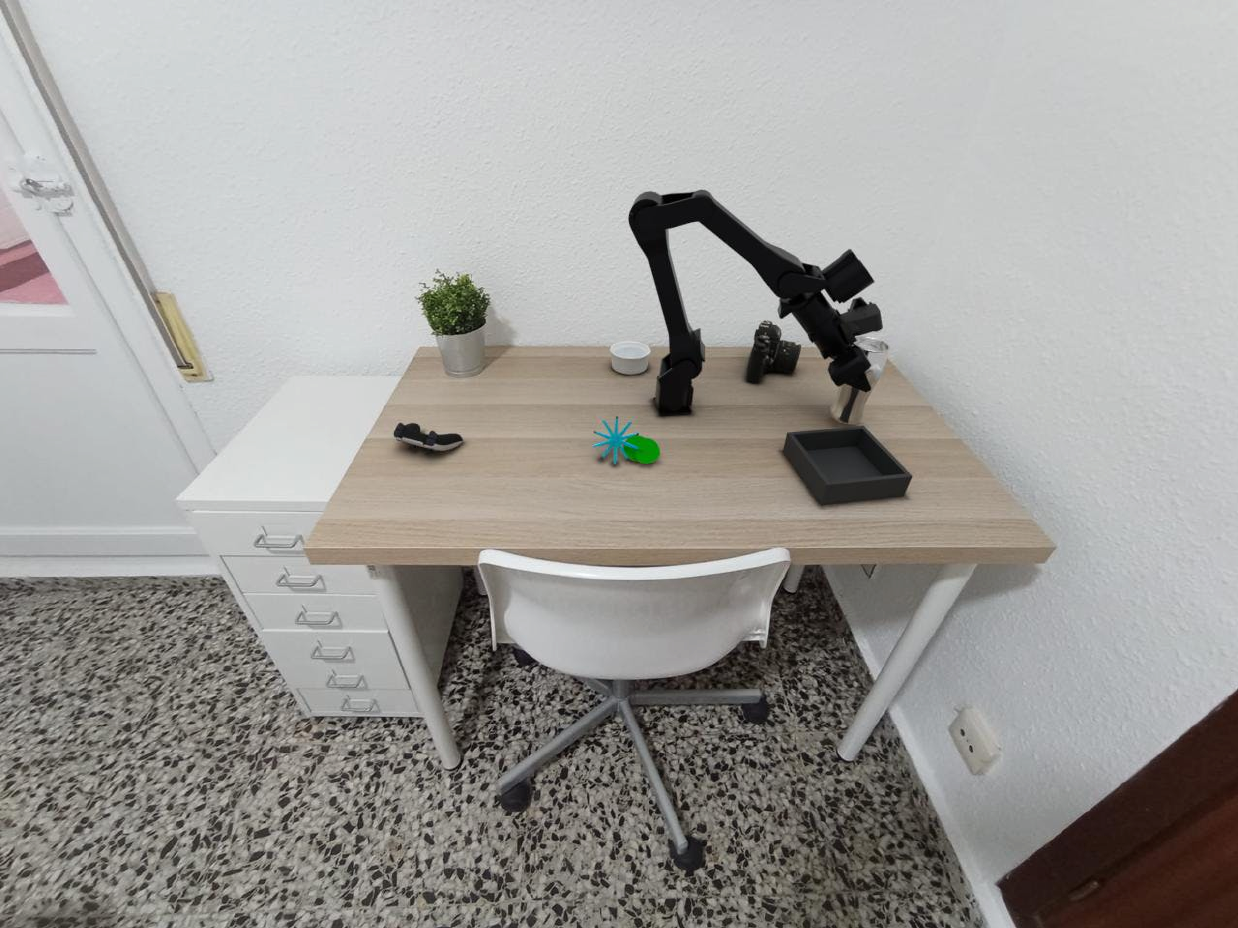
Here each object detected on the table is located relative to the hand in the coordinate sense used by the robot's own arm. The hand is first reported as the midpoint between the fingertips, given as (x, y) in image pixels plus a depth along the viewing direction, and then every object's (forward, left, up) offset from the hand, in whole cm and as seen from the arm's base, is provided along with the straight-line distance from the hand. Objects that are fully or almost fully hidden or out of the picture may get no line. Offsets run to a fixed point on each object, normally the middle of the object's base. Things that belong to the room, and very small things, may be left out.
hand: (864, 381), depth 101 cm
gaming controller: (-79, +3, -9) cm, 80 cm away
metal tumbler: (-2, 0, -8) cm, 8 cm away
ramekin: (-38, +28, -9) cm, 48 cm away
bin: (-10, -15, -9) cm, 20 cm away
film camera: (-7, +23, -9) cm, 26 cm away
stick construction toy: (-45, -4, -9) cm, 46 cm away
